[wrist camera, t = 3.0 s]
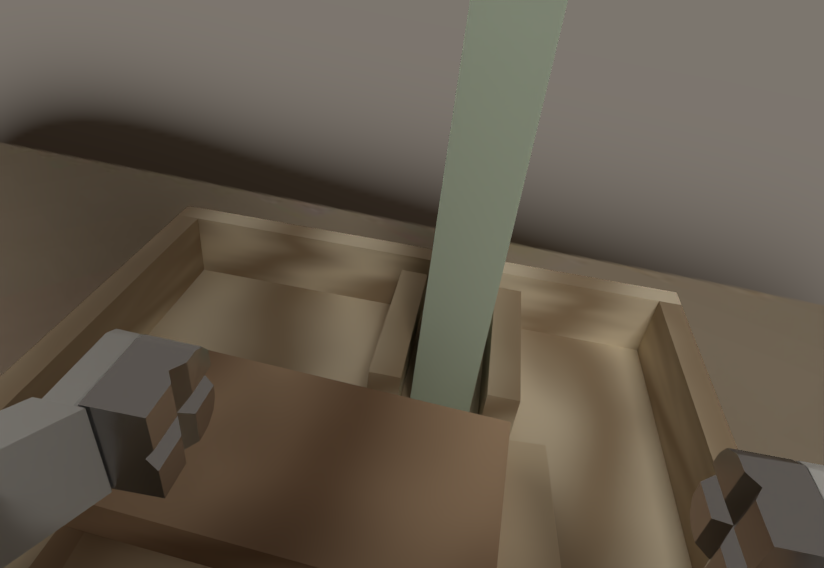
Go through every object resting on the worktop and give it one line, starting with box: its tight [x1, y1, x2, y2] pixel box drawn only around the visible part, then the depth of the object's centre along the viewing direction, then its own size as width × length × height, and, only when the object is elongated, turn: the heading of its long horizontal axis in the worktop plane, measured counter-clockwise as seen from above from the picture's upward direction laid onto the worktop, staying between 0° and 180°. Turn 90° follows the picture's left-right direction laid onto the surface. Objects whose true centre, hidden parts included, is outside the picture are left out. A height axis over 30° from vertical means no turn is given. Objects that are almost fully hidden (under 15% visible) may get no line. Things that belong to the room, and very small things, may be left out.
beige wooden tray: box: [0, 206, 738, 568], centre depth 20 cm, size 24×20×4 cm
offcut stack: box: [29, 350, 561, 568], centre depth 16 cm, size 14×7×4 cm, turn 81°
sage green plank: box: [410, 0, 568, 412], centre depth 20 cm, size 2×5×18 cm, turn 171°
